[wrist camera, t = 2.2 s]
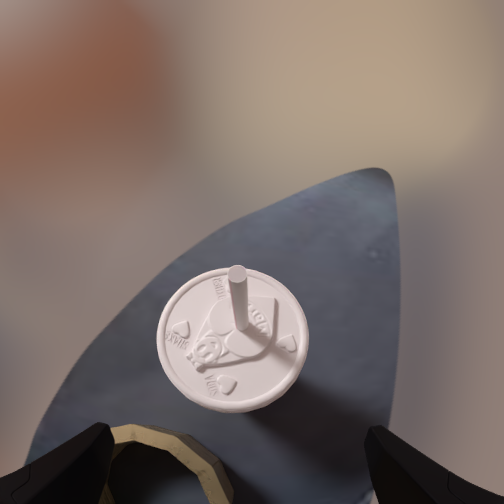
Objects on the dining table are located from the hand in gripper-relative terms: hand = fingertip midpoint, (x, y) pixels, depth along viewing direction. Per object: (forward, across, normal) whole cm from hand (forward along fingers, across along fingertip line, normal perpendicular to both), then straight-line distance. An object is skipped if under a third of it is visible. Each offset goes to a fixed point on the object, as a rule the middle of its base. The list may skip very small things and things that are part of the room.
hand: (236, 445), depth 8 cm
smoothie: (+11, 0, +5) cm, 12 cm away
